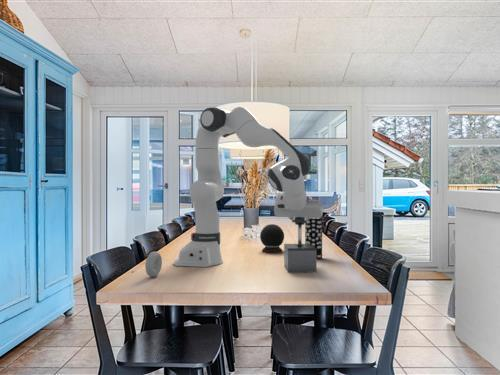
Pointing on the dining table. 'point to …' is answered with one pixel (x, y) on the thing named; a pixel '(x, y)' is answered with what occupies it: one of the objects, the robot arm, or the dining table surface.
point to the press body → (300, 258)
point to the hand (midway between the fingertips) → (300, 221)
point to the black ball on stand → (272, 238)
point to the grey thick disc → (153, 264)
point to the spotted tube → (314, 234)
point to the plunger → (299, 229)
